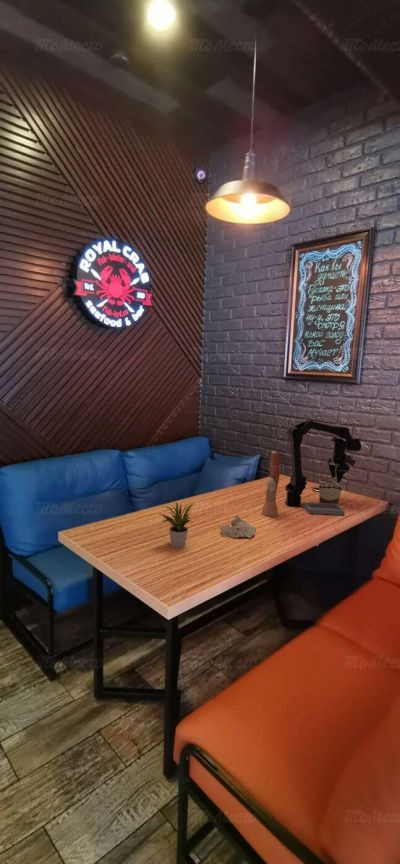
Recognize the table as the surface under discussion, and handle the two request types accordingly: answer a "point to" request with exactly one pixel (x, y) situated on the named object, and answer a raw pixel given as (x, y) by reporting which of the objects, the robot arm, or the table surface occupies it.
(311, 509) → the grey tray
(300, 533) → the table surface
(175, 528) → the house plant
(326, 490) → the food container
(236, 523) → the coral
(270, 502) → the tall figurine
